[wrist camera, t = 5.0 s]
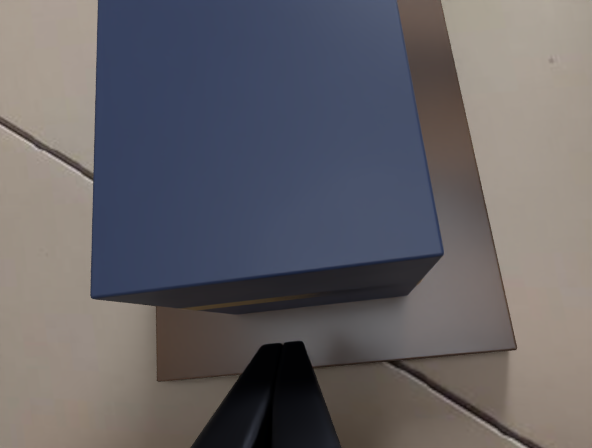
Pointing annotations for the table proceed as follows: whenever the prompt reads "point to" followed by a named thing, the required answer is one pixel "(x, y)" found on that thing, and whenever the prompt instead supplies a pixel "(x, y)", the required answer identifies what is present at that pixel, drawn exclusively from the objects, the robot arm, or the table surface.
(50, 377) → the table surface
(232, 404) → the robot arm
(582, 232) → the table surface
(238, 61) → the navy box
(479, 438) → the table surface
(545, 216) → the table surface
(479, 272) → the walnut board
